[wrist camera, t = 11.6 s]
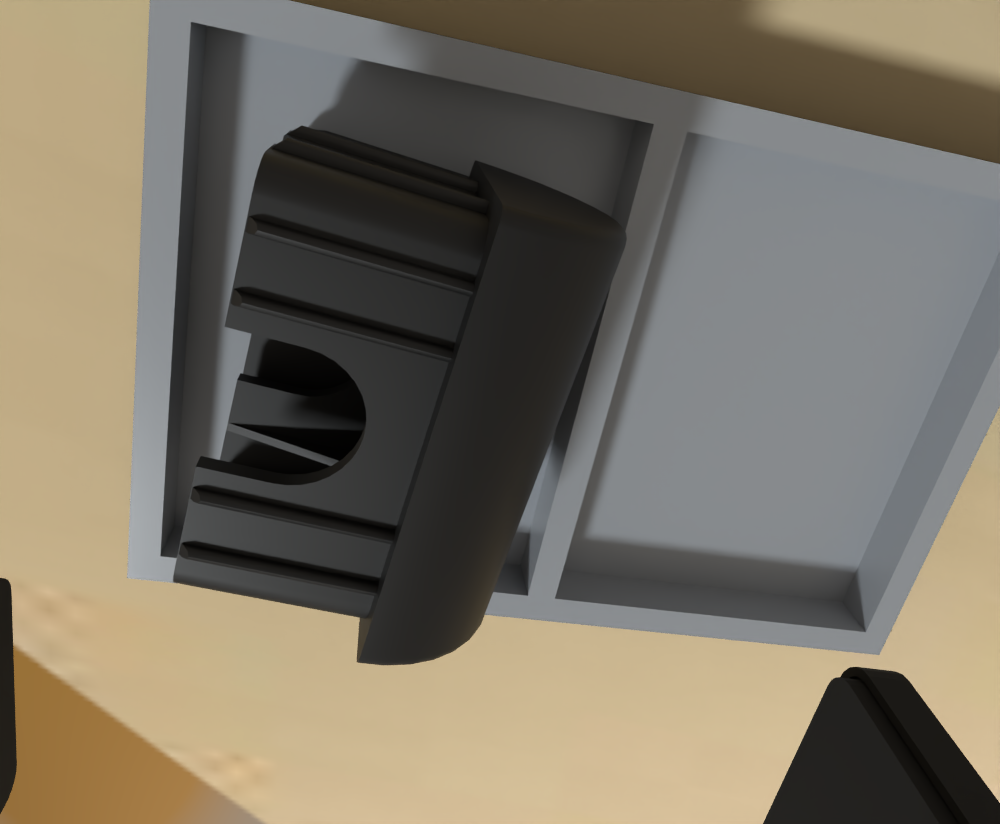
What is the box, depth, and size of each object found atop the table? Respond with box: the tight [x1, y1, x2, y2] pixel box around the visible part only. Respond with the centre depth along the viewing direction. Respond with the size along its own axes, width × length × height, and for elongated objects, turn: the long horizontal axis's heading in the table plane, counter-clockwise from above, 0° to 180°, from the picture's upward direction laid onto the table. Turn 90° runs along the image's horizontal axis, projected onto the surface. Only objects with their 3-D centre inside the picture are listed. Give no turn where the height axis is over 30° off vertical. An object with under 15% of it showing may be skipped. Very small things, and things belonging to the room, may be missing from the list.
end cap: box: [173, 126, 627, 665], centre depth 18 cm, size 10×7×7 cm
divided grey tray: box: [127, 0, 1000, 655], centre depth 22 cm, size 22×15×2 cm, turn 78°
